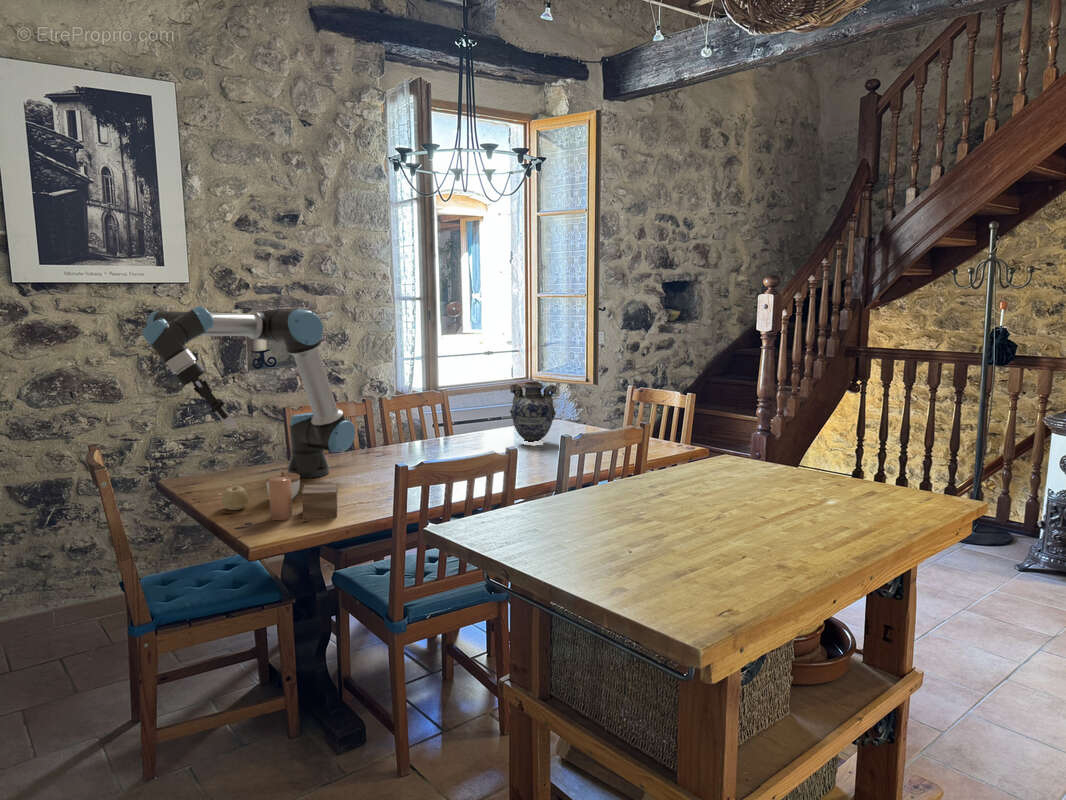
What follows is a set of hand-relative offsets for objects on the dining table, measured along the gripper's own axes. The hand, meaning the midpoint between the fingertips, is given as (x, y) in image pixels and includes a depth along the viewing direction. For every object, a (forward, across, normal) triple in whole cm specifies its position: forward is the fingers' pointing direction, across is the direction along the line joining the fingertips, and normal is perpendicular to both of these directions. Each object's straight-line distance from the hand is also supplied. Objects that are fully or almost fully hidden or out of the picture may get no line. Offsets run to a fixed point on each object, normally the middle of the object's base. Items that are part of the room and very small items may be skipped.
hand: (232, 426), depth 224 cm
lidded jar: (+30, -21, -2) cm, 37 cm away
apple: (+22, -16, -15) cm, 31 cm away
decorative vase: (+87, -74, +96) cm, 148 cm away
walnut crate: (+37, -1, +4) cm, 37 cm away
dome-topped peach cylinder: (+31, -1, -6) cm, 31 cm away
